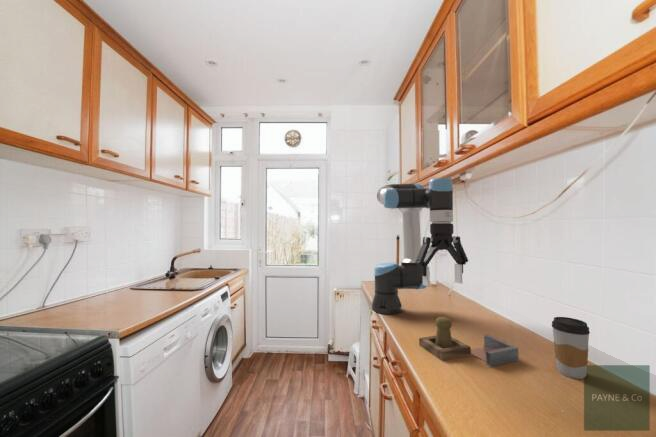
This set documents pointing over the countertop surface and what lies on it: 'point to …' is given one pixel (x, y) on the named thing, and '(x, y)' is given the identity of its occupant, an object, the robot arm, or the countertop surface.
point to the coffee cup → (571, 346)
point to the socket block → (445, 353)
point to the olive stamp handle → (443, 332)
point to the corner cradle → (496, 352)
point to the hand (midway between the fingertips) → (442, 284)
